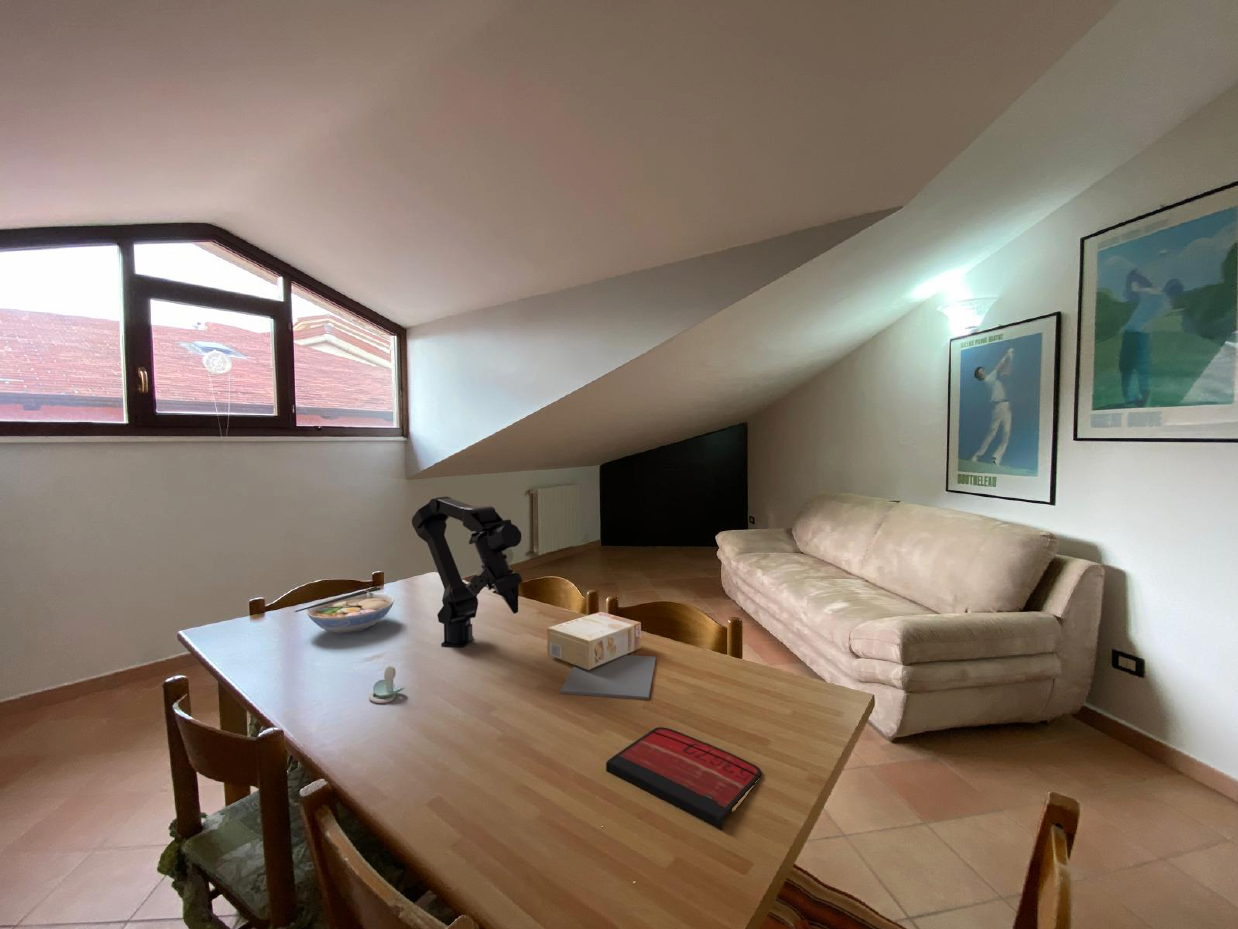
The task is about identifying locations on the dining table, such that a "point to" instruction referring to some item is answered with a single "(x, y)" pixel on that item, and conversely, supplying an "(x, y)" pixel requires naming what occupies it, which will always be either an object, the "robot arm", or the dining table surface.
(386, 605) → the ramen bowl
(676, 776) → the binder
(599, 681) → the mat
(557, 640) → the coffeecake box
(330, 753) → the dining table surface
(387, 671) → the pacifier
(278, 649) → the dining table surface
